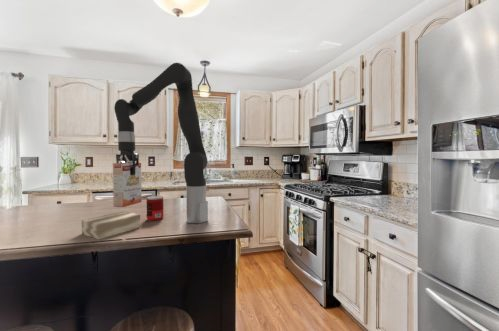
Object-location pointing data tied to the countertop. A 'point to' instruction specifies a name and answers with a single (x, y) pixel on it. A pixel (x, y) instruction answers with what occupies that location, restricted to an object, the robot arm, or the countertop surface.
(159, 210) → the canned food
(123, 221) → the folded beige towel
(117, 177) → the cracker box
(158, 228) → the countertop surface
